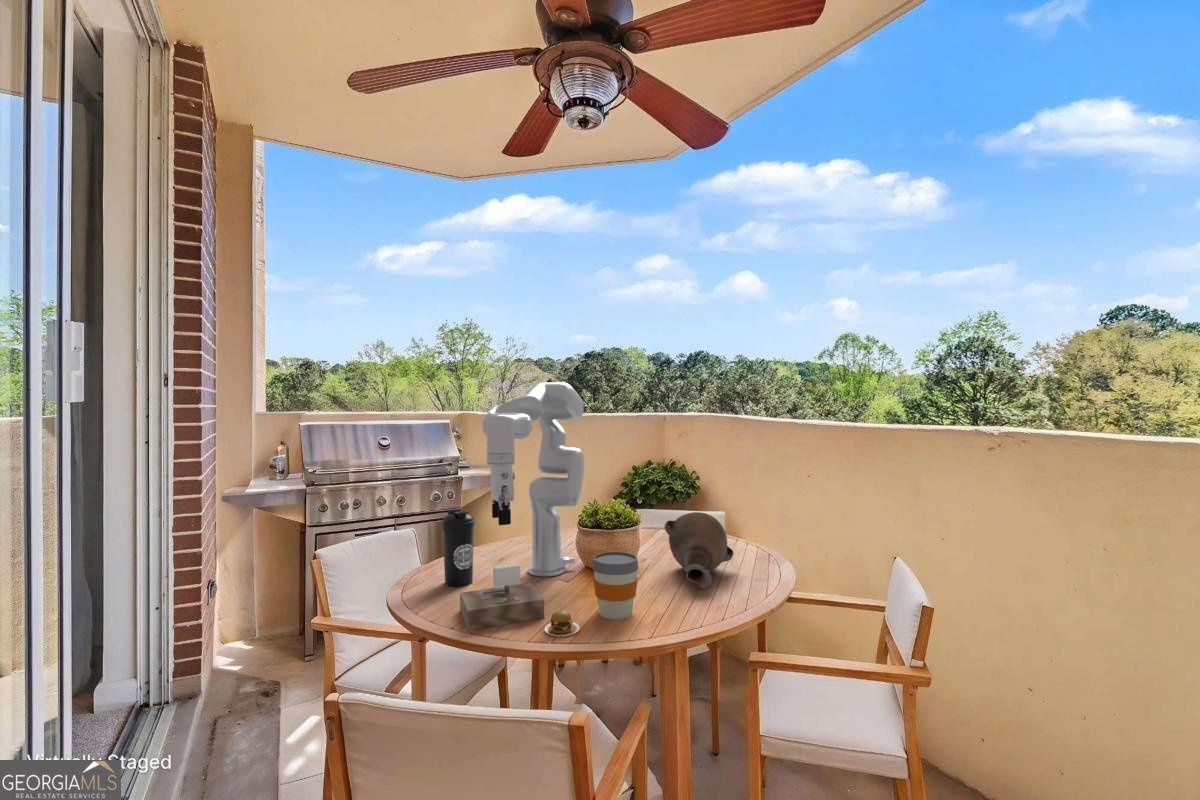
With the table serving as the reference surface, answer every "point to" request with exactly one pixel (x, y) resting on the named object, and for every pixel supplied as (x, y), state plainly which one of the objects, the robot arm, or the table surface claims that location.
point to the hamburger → (561, 623)
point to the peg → (505, 577)
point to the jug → (698, 545)
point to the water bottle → (458, 548)
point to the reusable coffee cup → (615, 583)
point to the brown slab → (501, 606)
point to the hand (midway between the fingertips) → (501, 520)
